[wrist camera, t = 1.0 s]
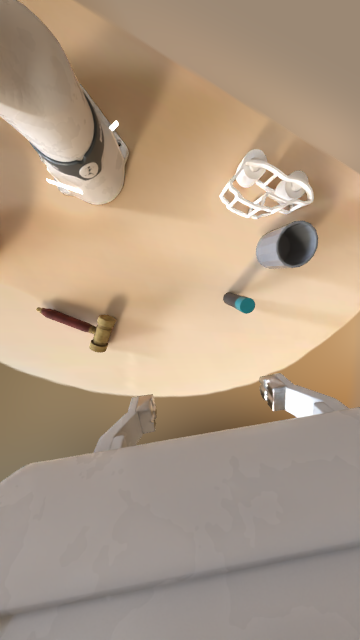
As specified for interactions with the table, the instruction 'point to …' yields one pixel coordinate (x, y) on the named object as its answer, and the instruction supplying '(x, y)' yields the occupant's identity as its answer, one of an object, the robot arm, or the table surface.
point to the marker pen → (239, 302)
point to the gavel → (86, 327)
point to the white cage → (283, 194)
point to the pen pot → (287, 246)
